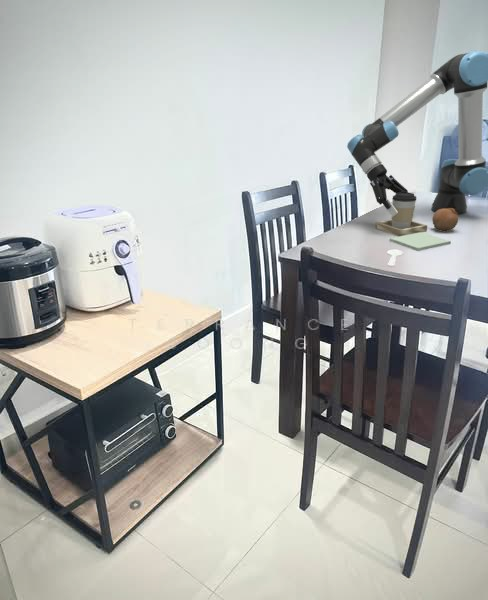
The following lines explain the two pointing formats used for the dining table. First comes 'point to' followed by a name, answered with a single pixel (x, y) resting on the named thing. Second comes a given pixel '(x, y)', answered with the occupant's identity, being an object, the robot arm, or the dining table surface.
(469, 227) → the dining table surface
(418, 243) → the mat
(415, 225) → the picture frame
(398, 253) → the spoon
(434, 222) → the onion
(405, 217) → the coffee cup
